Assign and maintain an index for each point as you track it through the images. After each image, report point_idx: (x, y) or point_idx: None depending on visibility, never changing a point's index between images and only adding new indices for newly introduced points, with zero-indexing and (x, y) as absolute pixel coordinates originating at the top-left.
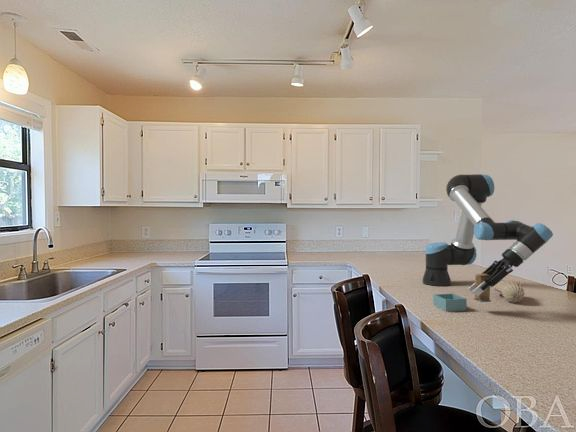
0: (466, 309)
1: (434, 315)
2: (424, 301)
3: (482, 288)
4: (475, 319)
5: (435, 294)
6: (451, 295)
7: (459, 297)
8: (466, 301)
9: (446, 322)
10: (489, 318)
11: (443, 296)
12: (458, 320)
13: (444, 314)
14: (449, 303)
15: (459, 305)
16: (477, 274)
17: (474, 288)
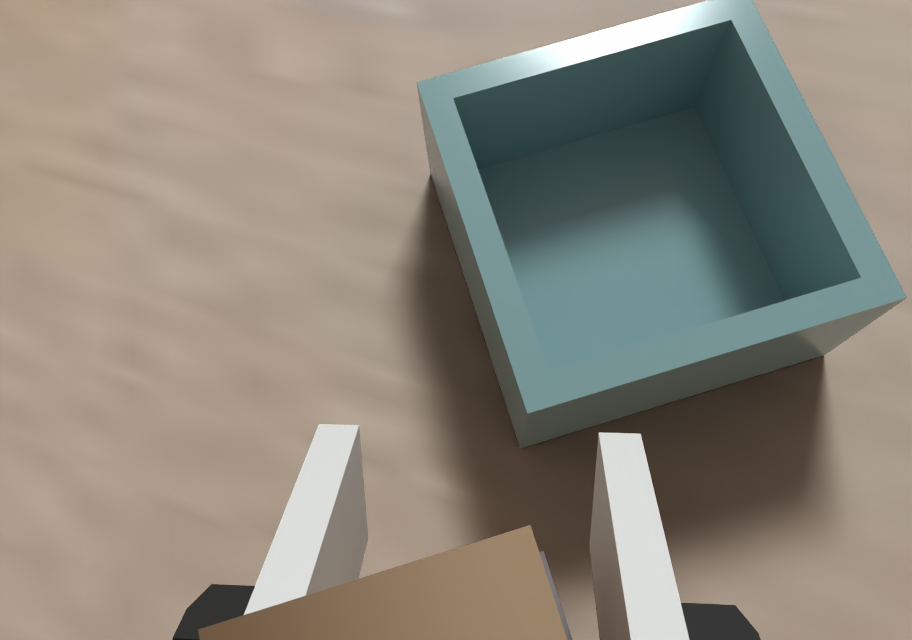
0: (519, 445)
1: (272, 25)
2: (890, 34)
3: (198, 620)
4: (121, 426)
5: (753, 18)
6: (844, 274)
7: (658, 341)
8: (523, 421)
9: (29, 83)
10: (160, 635)
11: (776, 149)
12: (90, 218)
13: (315, 131)
14: (438, 162)
15: (486, 322)
16: (469, 596)
17: (603, 566)
